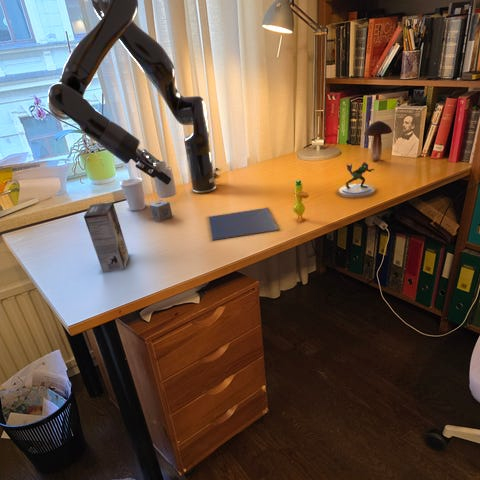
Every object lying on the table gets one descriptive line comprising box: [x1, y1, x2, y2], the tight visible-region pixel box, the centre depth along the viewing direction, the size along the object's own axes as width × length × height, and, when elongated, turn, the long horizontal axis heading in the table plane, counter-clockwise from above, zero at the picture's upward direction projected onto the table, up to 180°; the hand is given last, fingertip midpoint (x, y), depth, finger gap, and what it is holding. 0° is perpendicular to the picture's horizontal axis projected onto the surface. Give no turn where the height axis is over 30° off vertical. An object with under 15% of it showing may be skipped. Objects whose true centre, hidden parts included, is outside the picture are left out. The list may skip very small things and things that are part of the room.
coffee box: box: [83, 201, 130, 273], centre depth 112 cm, size 9×6×16 cm
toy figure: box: [292, 179, 310, 222], centre depth 124 cm, size 7×4×12 cm, turn 32°
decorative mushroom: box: [363, 120, 393, 161], centre depth 169 cm, size 11×11×15 cm
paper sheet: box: [208, 207, 280, 241], centre depth 131 cm, size 20×20×1 cm
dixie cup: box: [119, 177, 146, 211], centre depth 153 cm, size 8×8×10 cm
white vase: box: [152, 160, 178, 199], centre depth 122 cm, size 6×6×10 cm
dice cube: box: [148, 199, 173, 222], centre depth 143 cm, size 5×5×5 cm
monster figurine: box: [338, 161, 376, 199], centre depth 140 cm, size 12×12×10 cm
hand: (169, 178), depth 123 cm, fingers closed on white vase, 5 cm apart
